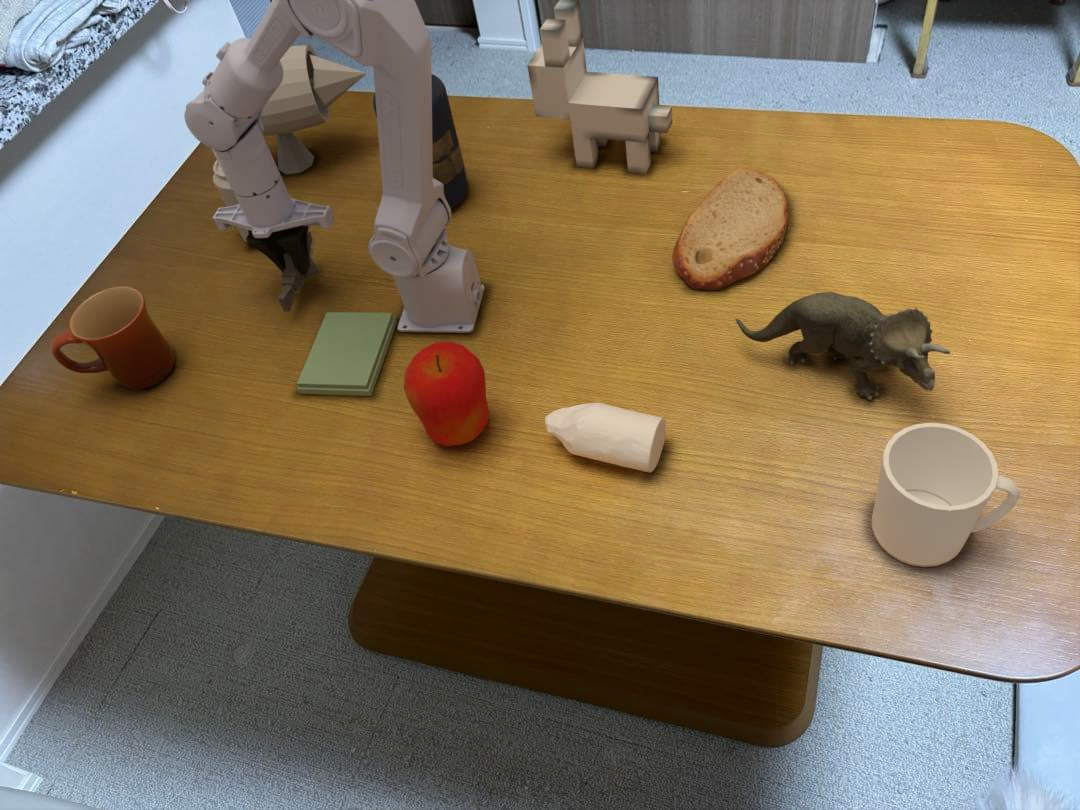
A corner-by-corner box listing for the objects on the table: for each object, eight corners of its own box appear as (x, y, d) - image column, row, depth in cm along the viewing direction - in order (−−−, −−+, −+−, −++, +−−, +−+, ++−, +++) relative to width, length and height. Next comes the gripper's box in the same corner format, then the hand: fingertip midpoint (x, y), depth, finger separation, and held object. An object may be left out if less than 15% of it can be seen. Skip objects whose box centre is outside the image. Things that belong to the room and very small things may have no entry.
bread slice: (760, 172, 118) (762, 147, 115) (831, 253, 107) (834, 228, 104) (634, 213, 116) (632, 190, 114) (692, 300, 105) (692, 277, 102)
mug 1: (175, 335, 114) (136, 275, 106) (190, 377, 109) (150, 318, 101) (84, 375, 112) (37, 317, 104) (94, 421, 106) (45, 363, 99)
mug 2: (859, 558, 81) (875, 496, 73) (873, 480, 86) (890, 413, 78) (990, 590, 78) (1023, 528, 70) (998, 506, 83) (1029, 439, 75)
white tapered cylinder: (560, 414, 97) (553, 380, 93) (667, 438, 93) (665, 404, 89) (540, 457, 94) (532, 425, 89) (649, 484, 90) (647, 451, 85)
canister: (392, 214, 124) (353, 98, 110) (422, 173, 129) (388, 57, 115) (453, 224, 120) (420, 106, 107) (482, 181, 126) (454, 63, 112)
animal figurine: (306, 318, 112) (290, 294, 107) (274, 317, 113) (256, 293, 108) (330, 242, 117) (315, 216, 113) (299, 242, 118) (283, 216, 114)
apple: (427, 399, 101) (400, 327, 92) (500, 394, 100) (479, 320, 91) (418, 461, 96) (388, 391, 87) (495, 457, 94) (473, 385, 85)
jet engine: (340, 203, 127) (297, 93, 114) (231, 182, 134) (178, 76, 121) (392, 142, 135) (357, 32, 122) (286, 125, 142) (243, 20, 129)
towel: (397, 321, 110) (394, 311, 109) (371, 396, 103) (367, 386, 101) (329, 320, 112) (325, 310, 110) (299, 394, 104) (294, 384, 103)
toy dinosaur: (728, 349, 99) (730, 274, 91) (769, 304, 103) (775, 228, 94) (917, 440, 88) (940, 364, 80) (956, 385, 92) (983, 308, 83)
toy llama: (663, 176, 121) (657, 36, 105) (543, 162, 126) (521, 28, 111) (678, 143, 125) (674, 4, 109) (561, 131, 130) (542, -2, 115)
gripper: (186, 204, 102) (233, 291, 112) (303, 202, 99) (341, 291, 110) (209, 166, 106) (253, 253, 117) (322, 163, 103) (357, 252, 114)
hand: (297, 269), depth 113 cm, fingers closed on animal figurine, 2 cm apart
